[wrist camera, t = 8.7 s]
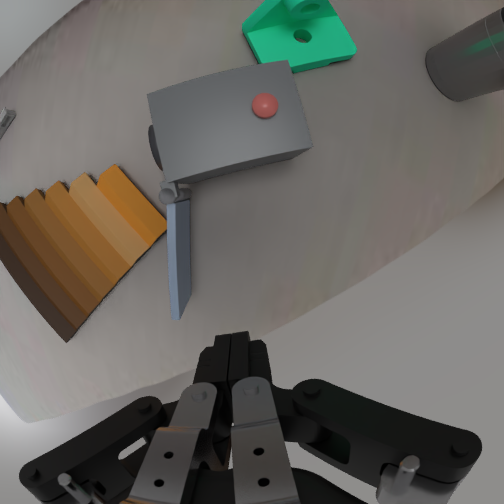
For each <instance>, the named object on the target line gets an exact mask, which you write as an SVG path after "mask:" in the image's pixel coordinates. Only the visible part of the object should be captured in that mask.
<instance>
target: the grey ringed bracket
mask: <svg viewBox="0 0 504 504" xmlns="http://www.w3.org/2000/svg"><path fill="white" fill-rule="evenodd" d="M15 116H16V114H15V112H14V111H12V110H8V109H6V107H3V109H2V111H1V113H0V139H1V137H2V136H3V134H4V133H5V131H6V129H7V128H8V126H9V125H10V123H11V122H12V120H13V119H14V118H15Z"/></svg>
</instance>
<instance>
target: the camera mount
mask: <svg viewBox="0 0 504 504" xmlns="http://www.w3.org/2000/svg"><path fill="white" fill-rule="evenodd" d="M242 31H243V33H244V35H245V37H246V39H247V41H248V43H249V45H250V47H251V49H252V51H253V53H254V55H255V57H256V59H257V61H258V63H259V64H262V63H269V62H275V61H282V60H288V62H289V65H290V68H291V71H293V73H297V72H301V71H305V70H309V69H313V68H318V67H323V66H327V65H329V63H331V62H336V61H341V60H347V59H350V58H352V56H353V55H354V54H355V53H356V52H357V48H356V46H355V44H354V42H353V40H352V39H351V37H350V35H349V33H348V32H347V30H346V28H345V26H344V25H343V23H342V22H341V20H340V18H339V17H338V15H337V13H336V12H335V10H334V9H333V7H332V6H331V4H330V2H329V1H328V0H265V1H264V2H263V3H262V4H261V5H260V6H259V7H258V8H257V9H256V10H255V11H254V12H253V13H252V14H251V15H250V16H249V17H248V18H247V19H246V21H245V22H244V23H243V24H242ZM295 38H301V39H303V40H305V41H306V42H307V43H301V42H298V41H297V40H296V39H295Z"/></svg>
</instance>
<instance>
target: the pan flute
mask: <svg viewBox="0 0 504 504" xmlns="http://www.w3.org/2000/svg"><path fill="white" fill-rule="evenodd" d="M166 231H167V221H166V220H165V219H164V218H163V217H162V215H161V214H160V213H159V212H158V211H157V210H156V209H155V208H154V207H153V206H152V205H151V203H150V202H149V201H148V200H147V199H146V198H145V197H144V196H143V195H142V194H141V192H140V191H139V190H138V189H137V188H136V187H135V186H134V185H133V183H132V182H131V181H130V180H129V179H128V178H127V177H126V176H125V174H124V173H123V172H122V171H121V170H120V169H119V168H118V166H117V165H116V164H114V165H113V166H111V167H110V168H109V169H107V170H106V171H105V172H103V173H102V174H101V175H100V177H99V180H98V183H97V185H96V184H95V183H94V181H93V180H92V179H91V178H90V177H89V175H88V174H86V173H85V172H84V173H83V174H82V175H81V176H79V177H78V178H77V179H76V180H74V181H73V182H72V183H71V186H70V190H68V189H67V188H66V186H65V185H64V184H63V183H62V182H60V181H57V182H56V183H55V184H54V185H53V186H51V187H50V188H49V189H48V190H47V191H46V195H44V194H43V193H42V191H41V190H39V189H37V188H36V189H35V190H34V191H33V192H31V193H30V194H29V195H28V196H27V197H26V198H25V201H24V200H23V198H22V197H19V196H16V197H15V198H14V199H13V200H12V201H11V202H10V203H9V204H8V205H6V204H4V203H1V202H0V260H1V261H2V263H3V264H4V266H5V267H6V269H7V270H8V272H9V273H10V275H11V276H12V277H13V279H14V280H15V282H16V283H17V284H18V286H19V287H20V289H21V290H22V291H23V293H24V294H25V295H26V296H27V298H28V299H29V300H30V302H31V303H32V304H33V305H34V307H35V308H36V309H37V310H38V312H39V313H40V314H41V315H42V316H43V318H44V319H45V320H46V321H47V322H48V323H49V325H50V326H51V327H52V328H53V329H54V330H55V331H56V332H57V334H58V335H59V336H60V337H61V338H62V339H63V340H64V341H65V342H66V343H67V342H68V341H69V340H70V339H71V338H72V337H73V336H74V334H75V333H76V332H77V331H78V329H79V328H80V327H81V326H82V324H83V323H84V322H85V321H86V320H87V318H88V317H89V316H90V314H91V313H92V312H93V311H94V310H95V309H96V308H97V307H98V305H99V304H100V303H101V302H102V301H103V299H104V298H105V297H106V296H107V295H108V294H109V293H110V291H111V290H112V289H113V288H114V287H115V286H116V285H117V283H118V282H119V281H120V280H121V279H122V278H123V277H124V276H125V275H126V274H127V272H128V271H129V270H130V269H131V268H132V267H133V265H134V264H135V263H136V262H137V261H139V259H140V258H141V257H142V256H143V255H144V254H145V253H146V252H147V251H148V250H149V249H150V248H151V246H152V245H153V244H154V243H155V242H156V241H157V240H158V239H159V238H160V237H161V236H162V235H163V234H164V233H165V232H166Z"/></svg>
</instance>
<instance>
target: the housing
mask: <svg viewBox="0 0 504 504" xmlns="http://www.w3.org/2000/svg"><path fill="white" fill-rule="evenodd" d="M147 98H148V103H149V108H150V113H151V118H152V123H153V125H150V126H149V131H148V135H149V143H150V147H151V151H152V154H153V157H154V159H155V161H156V163H157V165H158V167H159V168H160V169H161V170H162V171H163V172H164V176H165V180H166V181H163V182H160V186H161V191H160V193H159V200H160V201H161V203H163V204H166V205H167V204H172V203H174V202H175V201H176V200H177V198H178V197H180V196H181V195H180V192H179V188H178V184H177V183H180V184H191V183H194V182H198V181H201V180H205V179H209V178H212V177H216V176H220V175H224V174H228V173H232V172H236V171H240V170H244V169H248V168H252V167H256V166H261V165H265V164H269V163H274V162H279V161H283V160H288V159H293V158H294V157H296V156H298V155H300V154H301V153H303V152H305V151H307V150H309V149H310V148H312V147H313V144H312V140H311V136H310V132H309V129H308V125H307V121H306V118H305V114H304V111H303V107H302V104H301V100H300V97H299V94H298V90H297V87H296V84H295V81H294V77H293V74H292V71H291V68H290V65H289V62H288V60H282V61H275V62H269V63H262V64H257V65H251V66H246V67H241V68H236V69H232V70H227V71H223V72H219V73H215V74H211V75H207V76H203V77H199V78H196V79H192V80H189V81H186V82H182V83H179V84H176V85H173V86H170V87H167V88H164V89H161V90H158V91H155V92H152V93H149V94H147Z"/></svg>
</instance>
